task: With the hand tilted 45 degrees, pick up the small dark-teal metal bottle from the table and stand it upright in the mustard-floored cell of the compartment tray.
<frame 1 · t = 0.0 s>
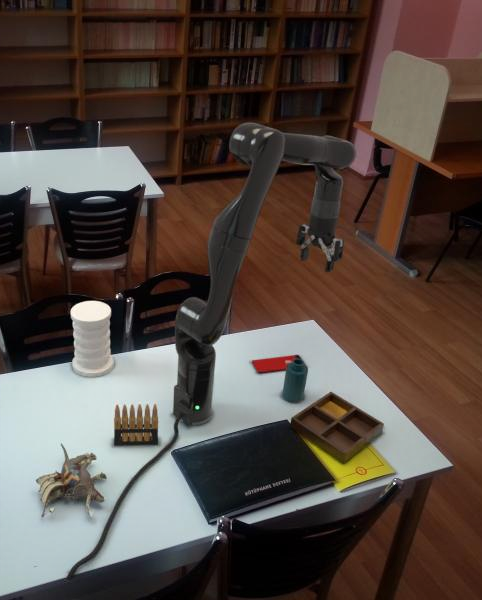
hand: (316, 266, 173), 29 cm above the table, tool pointing down, fingers open, 8 cm apart
electronic device: (278, 365, 181), on the table
compartment tray: (335, 429, 157), on the table
ammunition clip: (136, 443, 149), on the table
bottle: (292, 395, 168), on the table
decorative container: (93, 365, 175), on the table
figurine: (68, 493, 134), on the table
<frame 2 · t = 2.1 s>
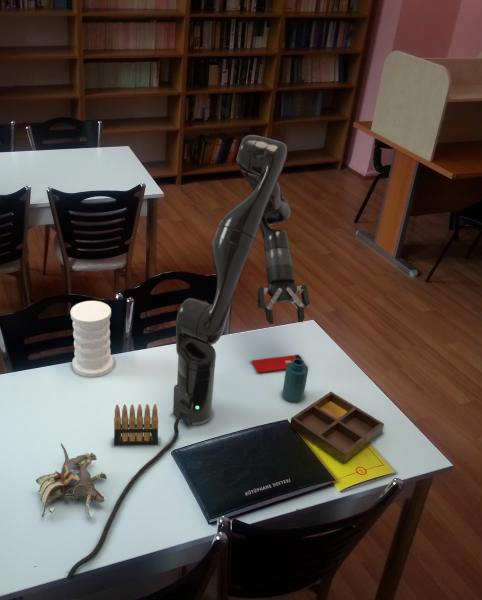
hand: (286, 322, 170), 16 cm above the table, tool tilted 45°, fingers open, 8 cm apart
nothing on the table moved.
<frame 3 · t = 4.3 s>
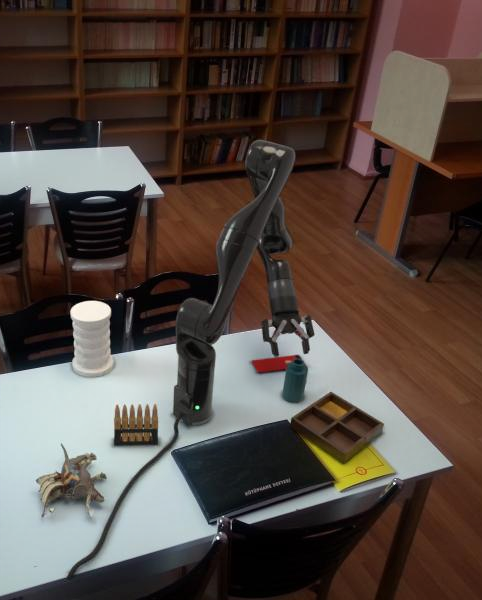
hand: (291, 355, 167), 10 cm above the table, tool tilted 45°, fingers open, 8 cm apart
nothing on the table moved.
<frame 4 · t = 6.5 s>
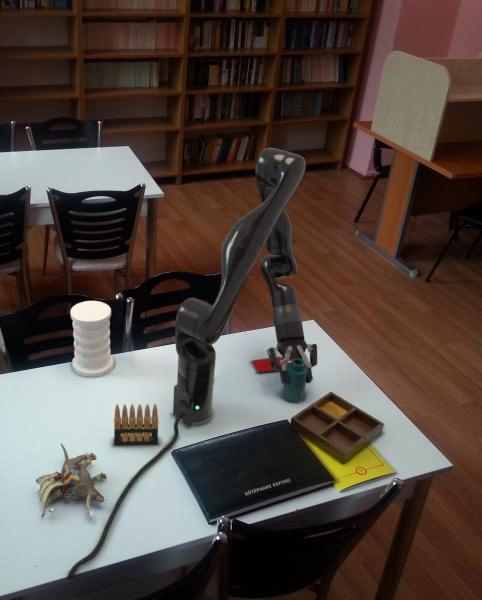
hand: (297, 383, 164), 5 cm above the table, tool tilted 45°, fingers closed on bottle, 6 cm apart
bottle: (292, 395, 168), on the table, touching gripper
everything else where it was.
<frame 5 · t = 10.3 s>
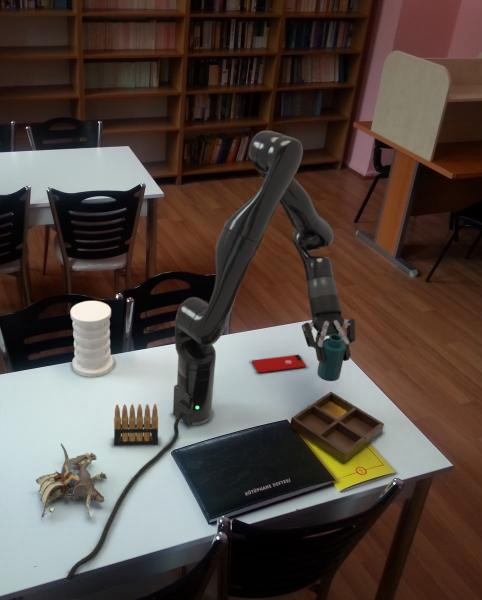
hand: (334, 361, 154), 17 cm above the table, tool tilted 45°, fingers closed on bottle, 6 cm apart
bottle: (328, 374, 158), point 12 cm above the table, touching gripper
everything else where it was.
when the fingers open (6 cm above the table, at t = 14.2 s): bottle stays where it is, resting on compartment tray.
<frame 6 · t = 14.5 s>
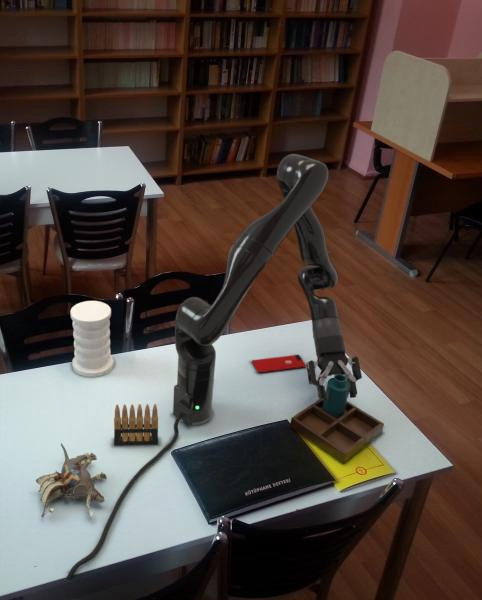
hand: (338, 399, 158), 7 cm above the table, tool tilted 45°, fingers open, 7 cm apart
bottle: (332, 412, 162), point 1 cm above the table, touching compartment tray
everything else where it was.
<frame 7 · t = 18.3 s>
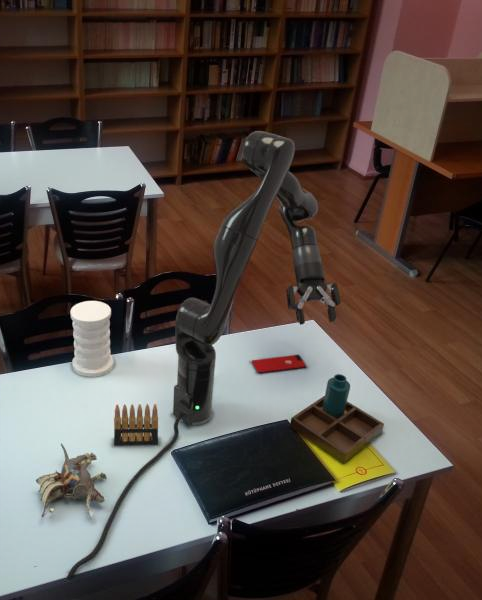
hand: (317, 322, 162), 21 cm above the table, tool tilted 45°, fingers open, 8 cm apart
nothing on the table moved.
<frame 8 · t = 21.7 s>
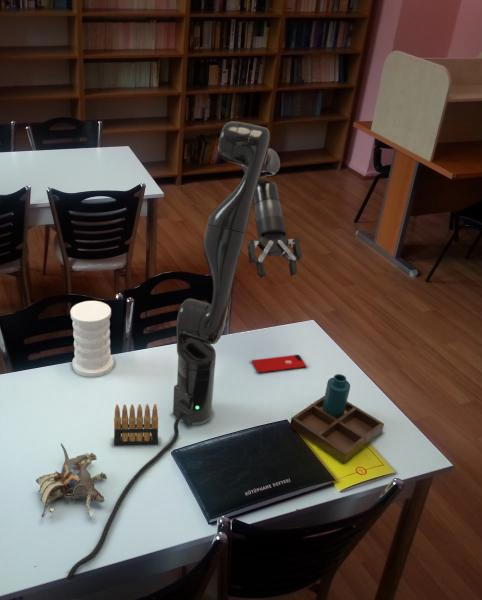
hand: (278, 276, 163), 31 cm above the table, tool tilted 45°, fingers open, 8 cm apart
nothing on the table moved.
at the end: bottle 0.1 cm from the target spot in the compartment tray, point 0.8 cm above the compartment tray's base; bottle tilted 0°; the gripper is holding nothing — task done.
